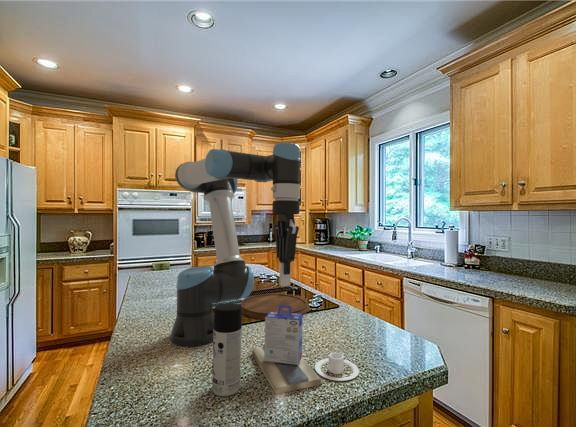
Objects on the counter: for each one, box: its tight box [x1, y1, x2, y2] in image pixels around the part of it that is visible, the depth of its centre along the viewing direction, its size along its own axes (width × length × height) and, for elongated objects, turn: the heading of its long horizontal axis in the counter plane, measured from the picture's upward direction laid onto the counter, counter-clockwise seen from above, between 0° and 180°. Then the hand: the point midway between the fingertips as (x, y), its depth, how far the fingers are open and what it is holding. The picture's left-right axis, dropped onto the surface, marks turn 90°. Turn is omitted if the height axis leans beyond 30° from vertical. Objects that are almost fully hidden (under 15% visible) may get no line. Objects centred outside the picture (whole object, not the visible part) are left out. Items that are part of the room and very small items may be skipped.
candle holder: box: [314, 352, 360, 382], centre depth 83 cm, size 12×12×4 cm
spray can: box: [211, 303, 243, 398], centre depth 73 cm, size 7×7×20 cm
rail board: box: [251, 343, 322, 395], centre depth 84 cm, size 12×22×2 cm, turn 21°
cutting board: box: [239, 293, 311, 321], centre depth 137 cm, size 32×32×3 cm
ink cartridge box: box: [264, 305, 304, 365], centre depth 84 cm, size 10×6×14 cm, turn 78°
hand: (284, 285), depth 84 cm, fingers closed
